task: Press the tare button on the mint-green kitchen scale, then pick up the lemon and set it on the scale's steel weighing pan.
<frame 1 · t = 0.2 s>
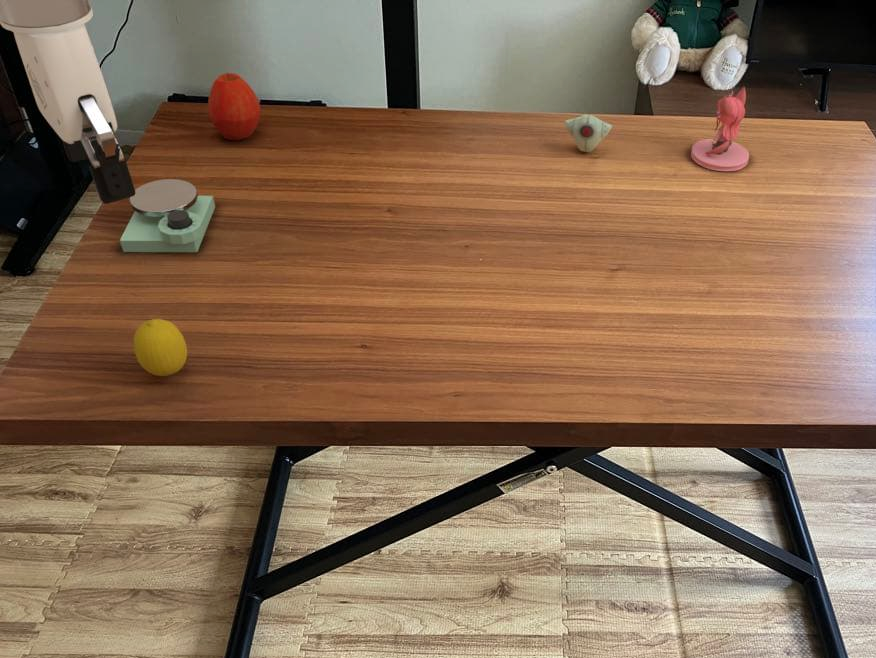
hand: (102, 177, 88), 25 cm above the table, tool pointing down, fingers open, 9 cm apart
lemon: (169, 375, 103), on the table
robot head: (585, 153, 147), on the table
toy figure: (719, 158, 148), on the table
scale: (171, 228, 125), on the table
pan: (171, 221, 127), resting on scale
apple: (240, 136, 146), on the table
tare button: (179, 220, 120), point 4 cm above the table, slide at 0.1 cm
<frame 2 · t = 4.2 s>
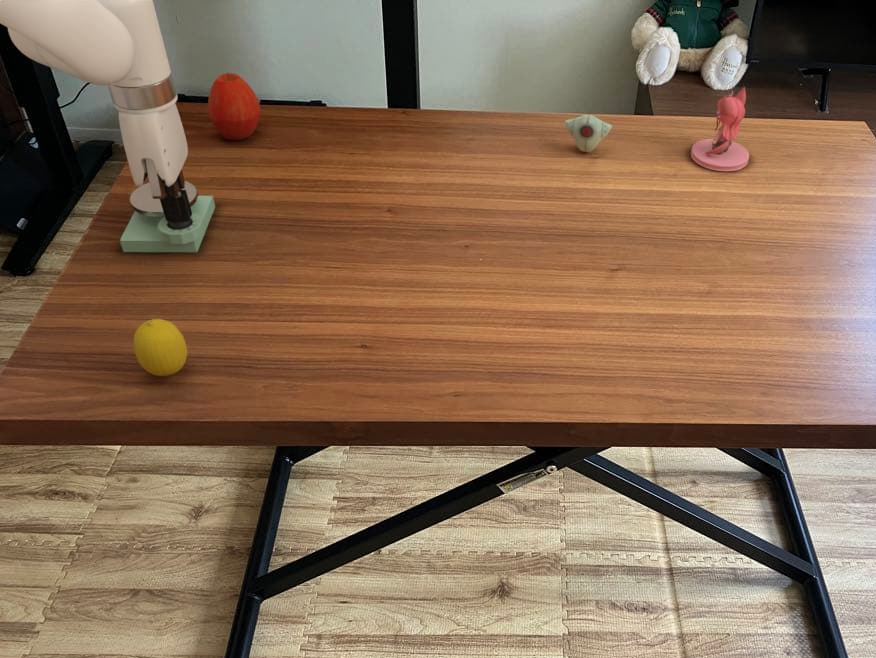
hand: (179, 218, 120), 4 cm above the table, tool pointing down, fingers closed
tare button: (180, 223, 120), point 3 cm above the table, slide at -0.4 cm, touching gripper
everything else where it was.
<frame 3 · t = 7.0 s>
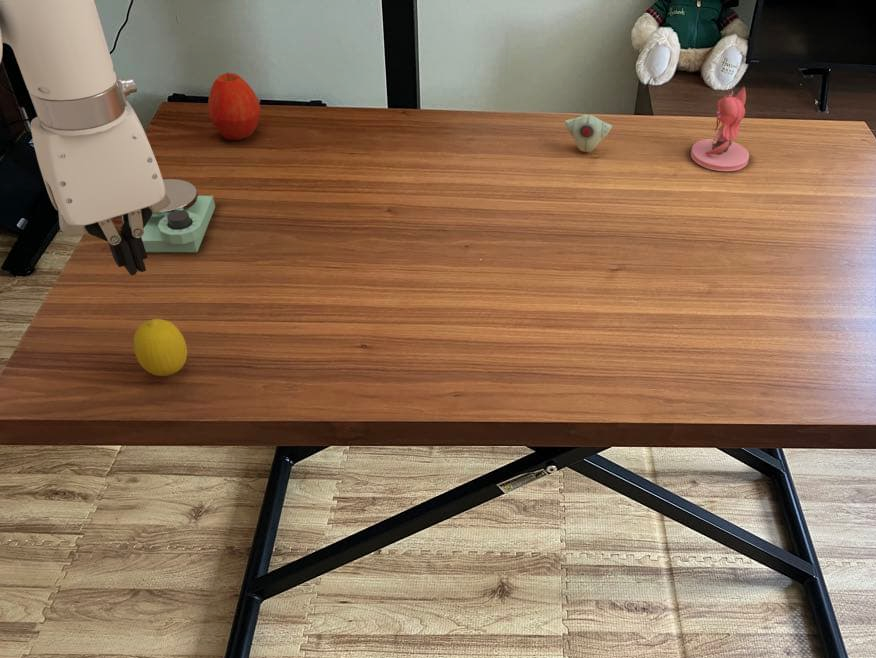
hand: (133, 266, 93), 15 cm above the table, tool pointing down, fingers closed
tare button: (179, 220, 120), point 4 cm above the table, slide at 0.1 cm
everything else where it was.
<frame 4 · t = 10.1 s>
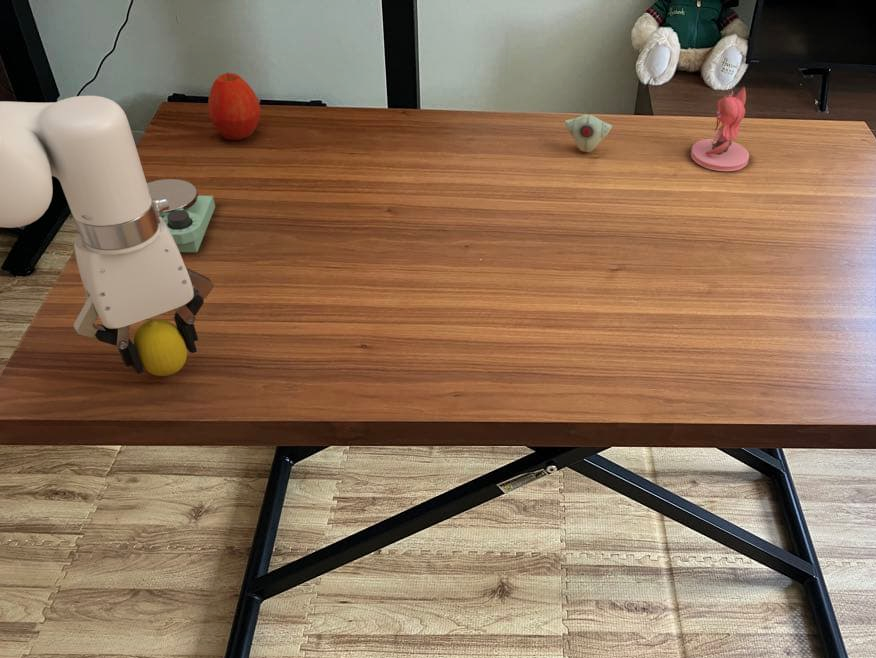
hand: (162, 355, 101), 3 cm above the table, tool pointing down, fingers closed on lemon, 5 cm apart
lemon: (169, 375, 103), on the table, touching gripper
everything else where it was.
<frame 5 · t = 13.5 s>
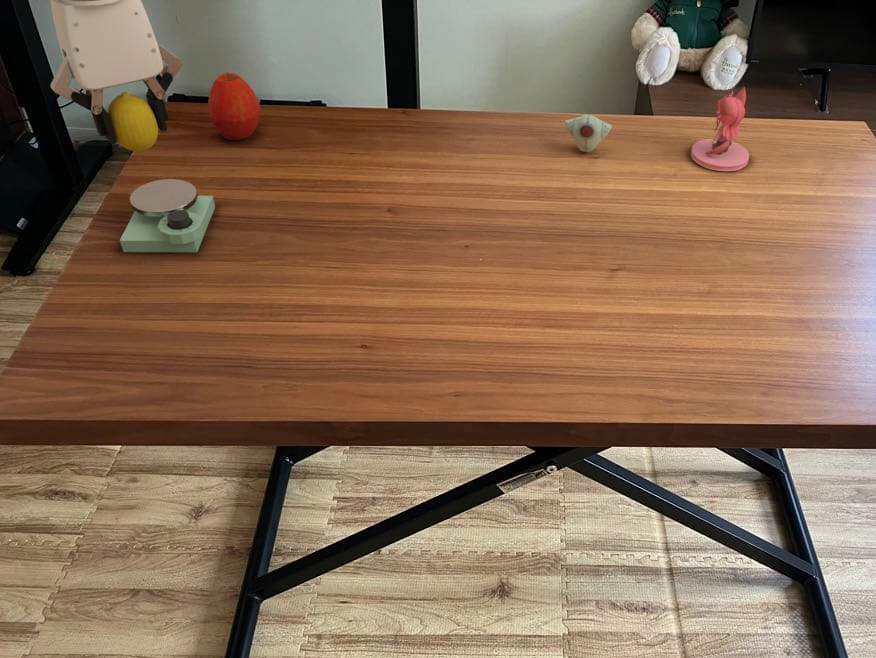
hand: (135, 131, 109), 18 cm above the table, tool pointing down, fingers closed on lemon, 5 cm apart
lemon: (142, 154, 111), point 15 cm above the table, touching gripper
everything else where it was.
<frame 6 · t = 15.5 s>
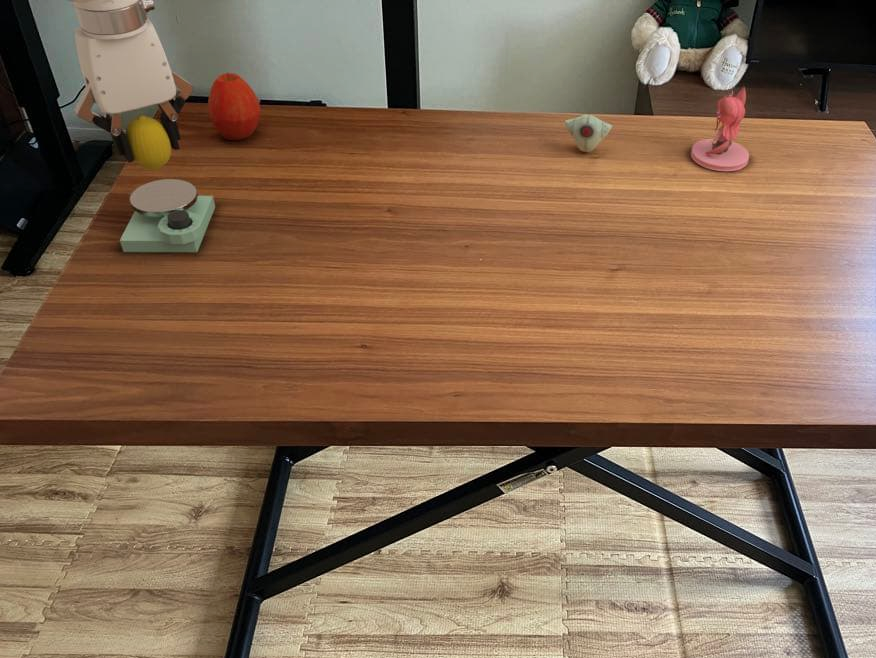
hand: (150, 150, 119), 11 cm above the table, tool pointing down, fingers closed on lemon, 5 cm apart
lemon: (156, 171, 121), point 8 cm above the table, touching gripper
everything else where it was.
when the fingers open (7 cm above the table, at t = 16.9 s): lemon stays where it is, resting on pan.
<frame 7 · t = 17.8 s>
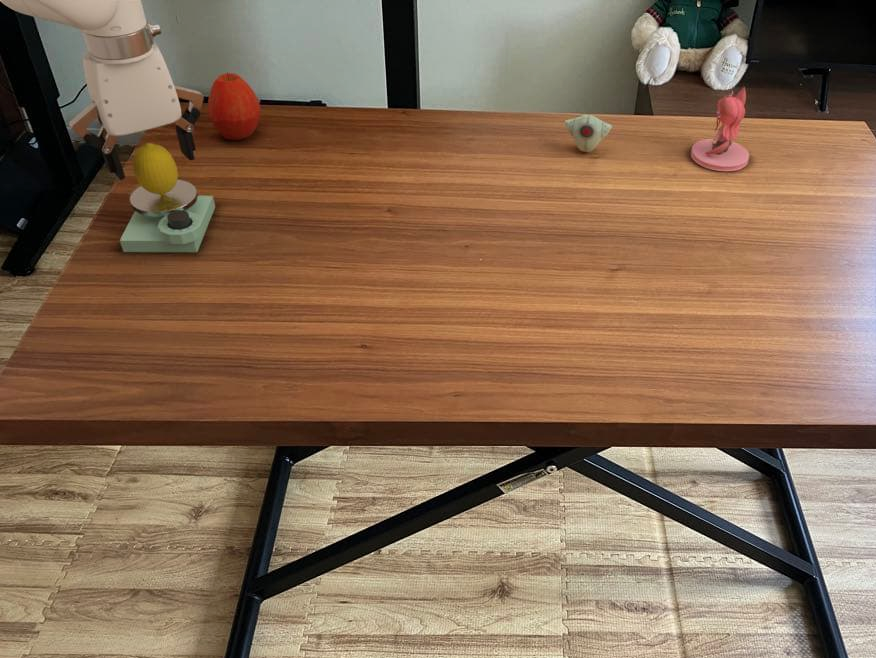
hand: (154, 165, 120), 9 cm above the table, tool pointing down, fingers open, 9 cm apart
lemon: (163, 196, 124), point 4 cm above the table, touching pan
everything else where it was.
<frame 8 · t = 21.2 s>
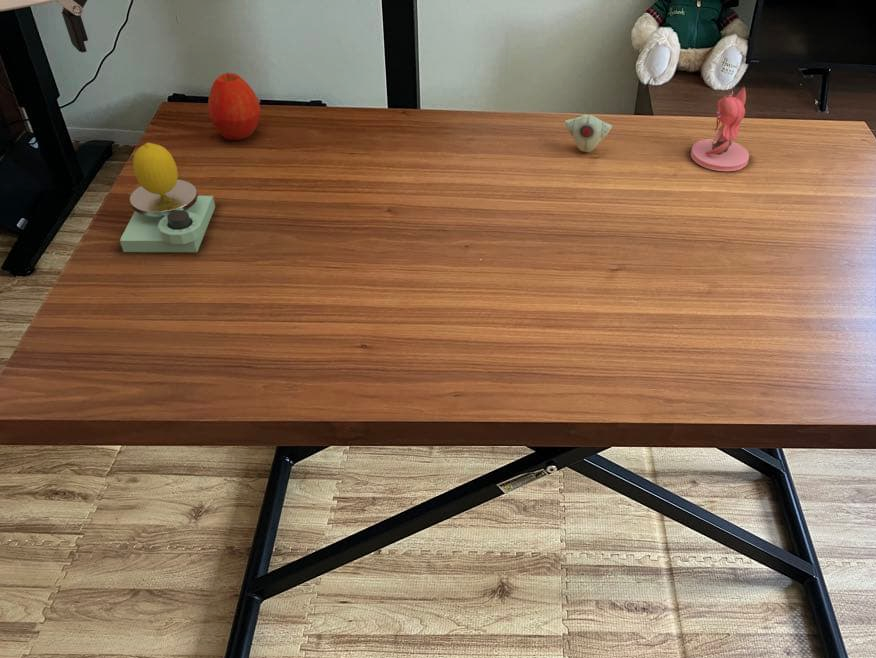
hand: (35, 57, 99), 28 cm above the table, tool pointing down, fingers open, 9 cm apart
nothing on the table moved.
at the end: tare button pushed in 0.9 cm at the most during the clip, back to where it started at the end; tare button slide at 0.1 cm; lemon 0.1 cm off-centre on the pan, point 4.1 cm above the pan's base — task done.
